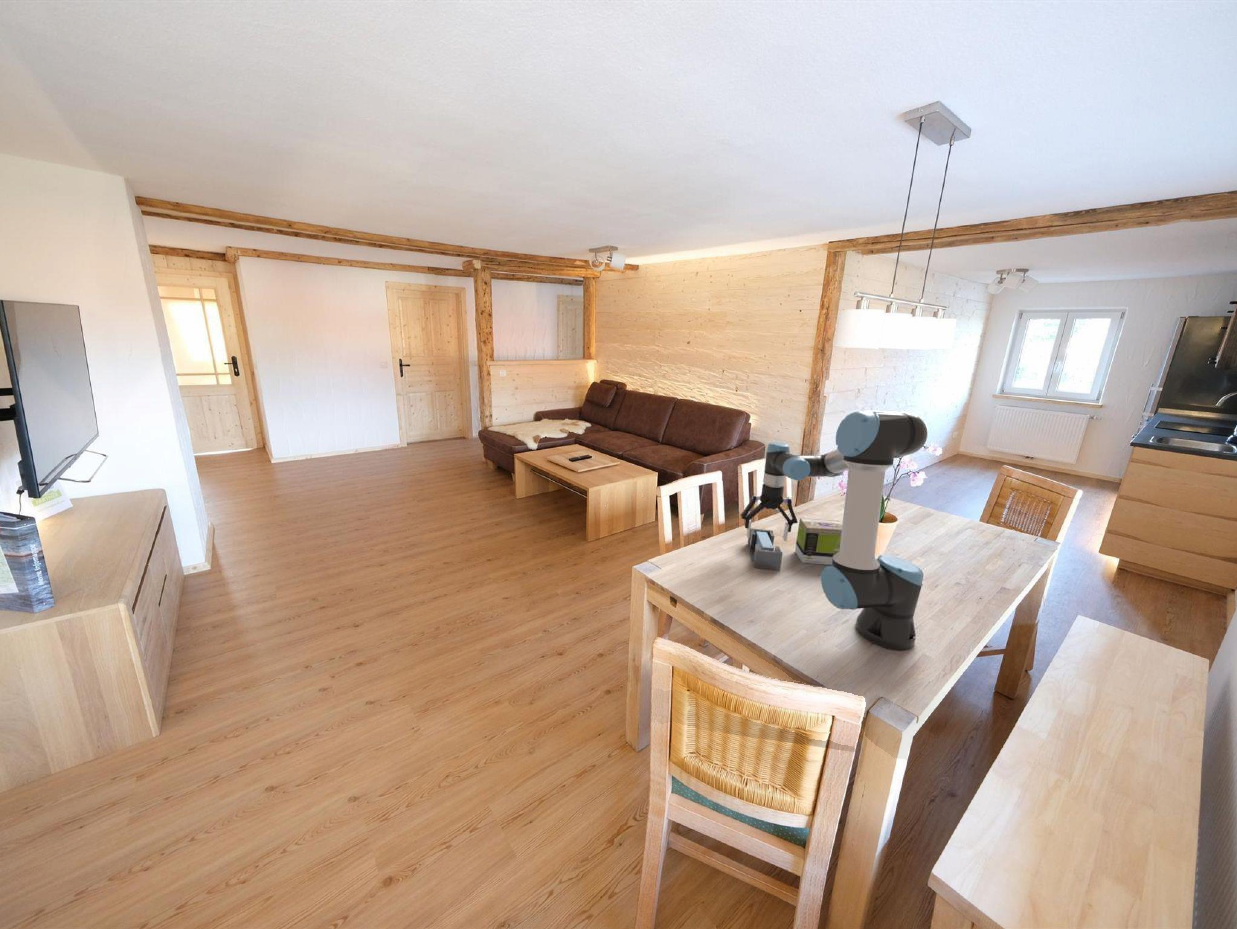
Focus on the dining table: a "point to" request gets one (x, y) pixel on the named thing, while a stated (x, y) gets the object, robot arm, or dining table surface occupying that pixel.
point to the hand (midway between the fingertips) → (766, 538)
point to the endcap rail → (764, 552)
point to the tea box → (818, 540)
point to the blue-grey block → (763, 541)
